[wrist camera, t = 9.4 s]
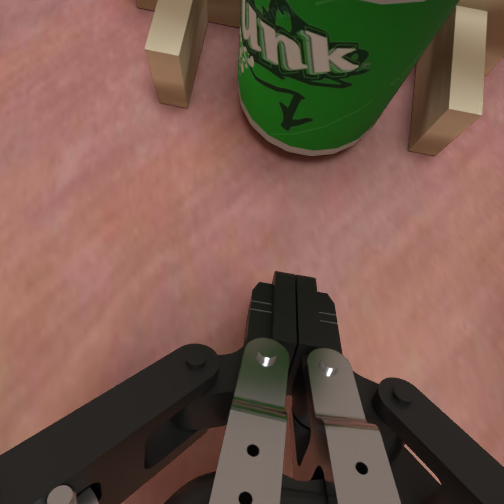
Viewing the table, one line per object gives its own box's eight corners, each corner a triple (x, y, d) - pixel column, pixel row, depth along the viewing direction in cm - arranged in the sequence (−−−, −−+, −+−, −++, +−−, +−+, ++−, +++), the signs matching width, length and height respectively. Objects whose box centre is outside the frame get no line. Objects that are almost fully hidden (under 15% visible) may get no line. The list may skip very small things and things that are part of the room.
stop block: (480, 164, 21) (599, 83, 15) (112, 93, 21) (57, -25, 14) (487, 32, 23) (595, -95, 16) (149, -36, 23) (117, -196, 16)
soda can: (347, 29, 23) (473, -298, 11) (393, 145, 21) (595, -86, 10) (220, 57, 22) (212, -266, 10) (260, 181, 21) (305, -28, 9)
